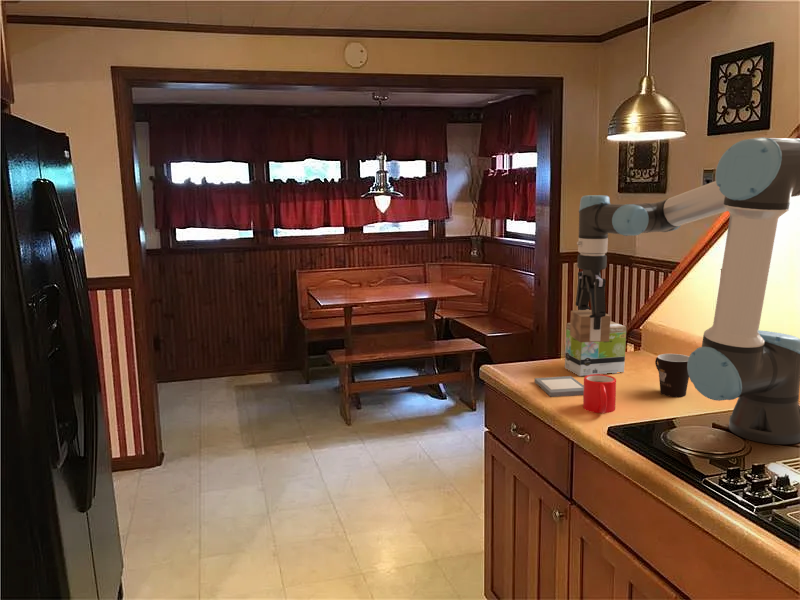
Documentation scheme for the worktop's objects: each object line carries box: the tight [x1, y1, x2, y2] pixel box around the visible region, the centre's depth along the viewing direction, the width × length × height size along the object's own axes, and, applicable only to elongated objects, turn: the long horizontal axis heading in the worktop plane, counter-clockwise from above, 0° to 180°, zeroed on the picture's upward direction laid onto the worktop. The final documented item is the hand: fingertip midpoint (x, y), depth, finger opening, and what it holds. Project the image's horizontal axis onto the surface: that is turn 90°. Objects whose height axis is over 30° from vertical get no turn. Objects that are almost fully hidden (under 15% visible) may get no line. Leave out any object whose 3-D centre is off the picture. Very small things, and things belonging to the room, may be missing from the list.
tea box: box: [564, 320, 627, 377], centre depth 202 cm, size 15×10×15 cm
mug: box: [582, 374, 617, 414], centre depth 167 cm, size 8×12×8 cm, turn 174°
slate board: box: [534, 375, 584, 398], centre depth 186 cm, size 14×11×1 cm
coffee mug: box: [654, 353, 690, 398], centre depth 180 cm, size 12×9×10 cm
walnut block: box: [569, 309, 611, 342], centre depth 180 cm, size 8×8×7 cm
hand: (588, 336), depth 181 cm, fingers closed on walnut block, 8 cm apart
